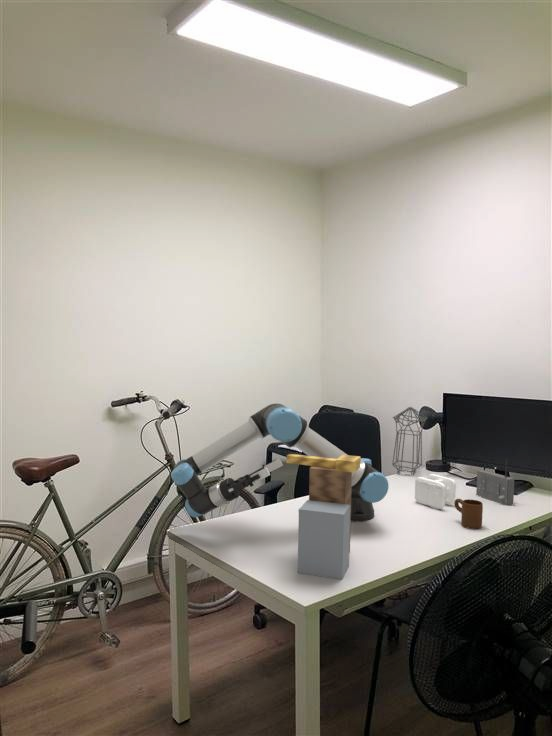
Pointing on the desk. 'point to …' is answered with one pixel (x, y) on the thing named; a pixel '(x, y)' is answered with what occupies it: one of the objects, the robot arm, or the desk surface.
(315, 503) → the grey stand
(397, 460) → the geometric lantern
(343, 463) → the handle bar
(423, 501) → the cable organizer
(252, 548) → the desk surface
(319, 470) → the walnut post
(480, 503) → the mug
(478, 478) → the electronic device
